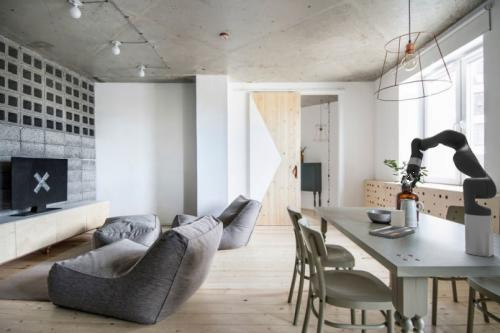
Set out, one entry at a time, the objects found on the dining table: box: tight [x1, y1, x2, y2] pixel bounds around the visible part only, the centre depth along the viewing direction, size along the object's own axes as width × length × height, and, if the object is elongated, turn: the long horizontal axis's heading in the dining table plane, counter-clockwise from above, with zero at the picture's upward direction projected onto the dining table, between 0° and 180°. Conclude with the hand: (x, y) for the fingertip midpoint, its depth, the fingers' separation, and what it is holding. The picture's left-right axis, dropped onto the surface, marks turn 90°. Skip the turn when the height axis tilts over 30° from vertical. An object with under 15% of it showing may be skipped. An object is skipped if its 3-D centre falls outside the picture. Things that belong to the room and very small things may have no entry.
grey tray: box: [368, 225, 416, 239], centre depth 165 cm, size 14×24×2 cm, turn 125°
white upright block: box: [390, 209, 406, 229], centre depth 169 cm, size 6×5×11 cm
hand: (407, 188), depth 180 cm, fingers open, 8 cm apart
